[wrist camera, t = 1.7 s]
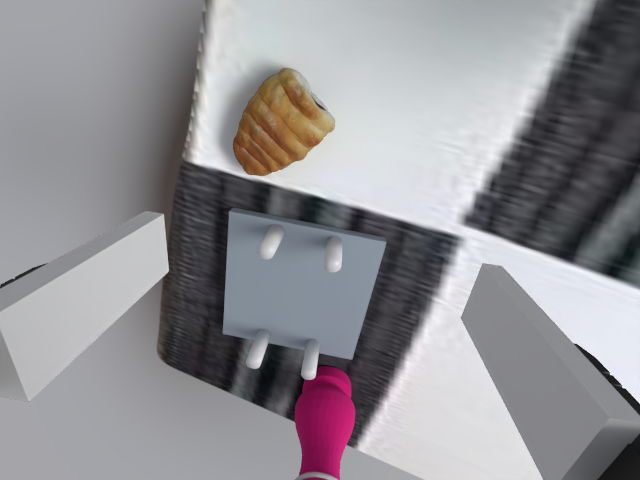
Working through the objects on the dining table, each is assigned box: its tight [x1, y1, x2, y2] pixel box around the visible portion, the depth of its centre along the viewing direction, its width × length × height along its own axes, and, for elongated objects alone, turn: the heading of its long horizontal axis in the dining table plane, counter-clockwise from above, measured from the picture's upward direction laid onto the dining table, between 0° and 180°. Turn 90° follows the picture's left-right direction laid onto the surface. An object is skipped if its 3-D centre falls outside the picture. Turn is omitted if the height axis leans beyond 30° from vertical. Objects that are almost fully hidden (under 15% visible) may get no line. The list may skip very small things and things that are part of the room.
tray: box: [223, 208, 386, 380], centre depth 33 cm, size 16×16×6 cm
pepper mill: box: [295, 366, 355, 480], centre depth 32 cm, size 7×7×20 cm
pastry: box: [233, 68, 335, 176], centre depth 27 cm, size 9×7×4 cm
